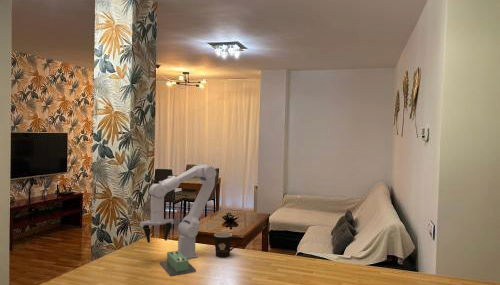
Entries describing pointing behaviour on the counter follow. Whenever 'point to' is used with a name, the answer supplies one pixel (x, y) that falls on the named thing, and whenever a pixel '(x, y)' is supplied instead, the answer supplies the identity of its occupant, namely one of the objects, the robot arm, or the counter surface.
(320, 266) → the counter surface
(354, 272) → the counter surface
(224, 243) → the coffee mug
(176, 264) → the green block with holes
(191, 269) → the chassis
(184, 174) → the robot arm
